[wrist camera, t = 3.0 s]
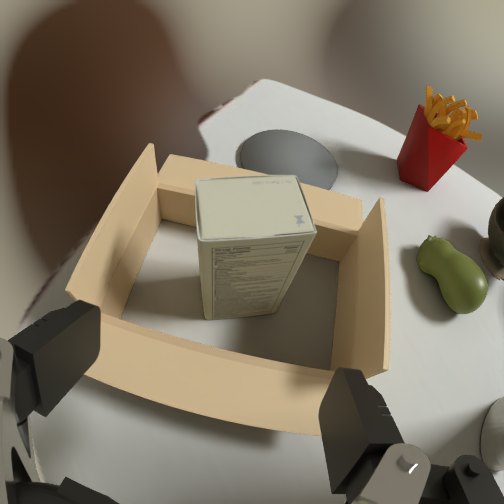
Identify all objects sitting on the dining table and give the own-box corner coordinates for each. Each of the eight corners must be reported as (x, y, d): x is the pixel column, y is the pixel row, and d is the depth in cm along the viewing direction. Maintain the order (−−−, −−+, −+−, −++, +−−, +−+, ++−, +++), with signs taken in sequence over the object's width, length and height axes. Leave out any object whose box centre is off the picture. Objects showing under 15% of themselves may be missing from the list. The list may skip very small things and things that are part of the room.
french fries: (390, 153, 41) (431, 73, 29) (434, 172, 41) (479, 100, 28) (395, 192, 36) (450, 102, 24) (444, 212, 36) (502, 134, 24)
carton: (345, 227, 32) (380, 167, 24) (326, 437, 20) (383, 437, 13) (172, 185, 32) (167, 116, 24) (92, 378, 21) (38, 351, 13)
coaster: (315, 133, 41) (316, 129, 40) (351, 194, 35) (353, 191, 34) (232, 134, 38) (232, 131, 37) (253, 202, 32) (254, 198, 32)
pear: (482, 304, 22) (420, 233, 28) (454, 331, 26) (401, 265, 32) (502, 281, 24) (445, 219, 30) (477, 308, 28) (427, 249, 34)
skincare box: (267, 270, 28) (300, 172, 18) (276, 315, 26) (322, 233, 16) (197, 275, 27) (193, 174, 17) (202, 323, 25) (197, 240, 14)
